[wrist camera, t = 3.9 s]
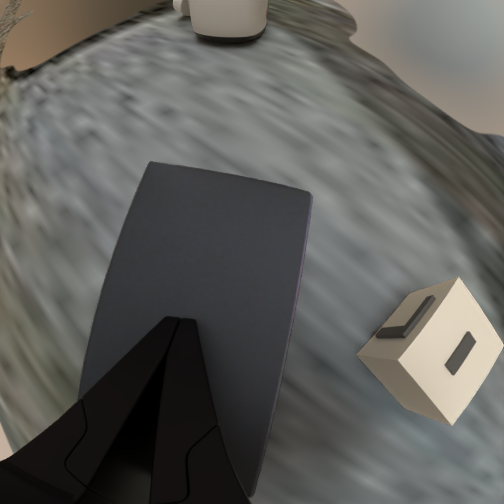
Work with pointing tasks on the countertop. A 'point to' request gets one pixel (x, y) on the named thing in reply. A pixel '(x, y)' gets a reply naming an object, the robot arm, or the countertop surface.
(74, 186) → the countertop surface
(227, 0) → the spread jar
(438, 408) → the cream block seven
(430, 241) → the countertop surface
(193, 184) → the small box
